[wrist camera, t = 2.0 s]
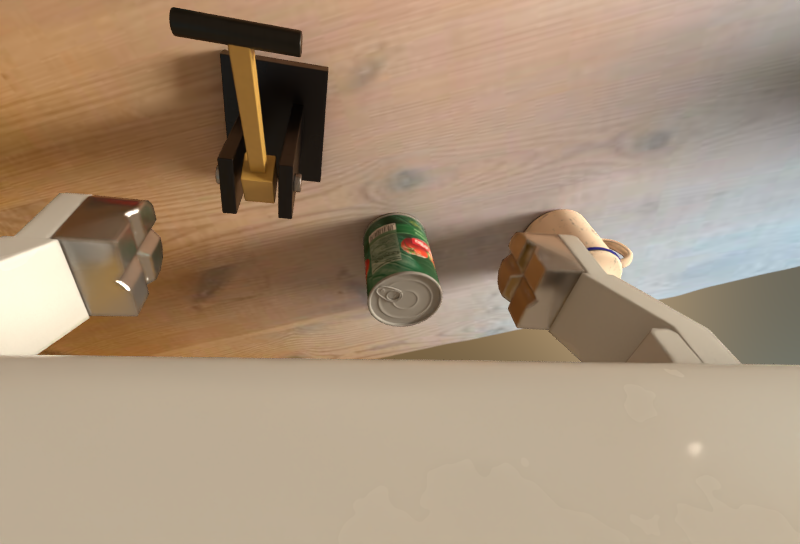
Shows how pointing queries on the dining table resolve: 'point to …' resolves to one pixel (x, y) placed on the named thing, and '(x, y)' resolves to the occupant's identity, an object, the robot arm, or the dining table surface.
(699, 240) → the dining table surface
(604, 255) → the teacup with lid
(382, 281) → the canned tomato
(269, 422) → the robot arm
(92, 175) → the dining table surface
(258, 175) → the tap lever
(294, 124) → the lever stand
